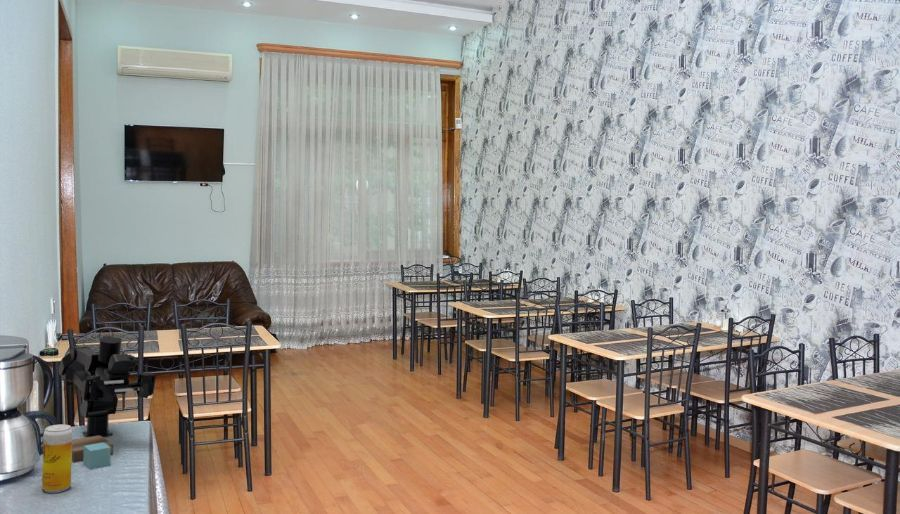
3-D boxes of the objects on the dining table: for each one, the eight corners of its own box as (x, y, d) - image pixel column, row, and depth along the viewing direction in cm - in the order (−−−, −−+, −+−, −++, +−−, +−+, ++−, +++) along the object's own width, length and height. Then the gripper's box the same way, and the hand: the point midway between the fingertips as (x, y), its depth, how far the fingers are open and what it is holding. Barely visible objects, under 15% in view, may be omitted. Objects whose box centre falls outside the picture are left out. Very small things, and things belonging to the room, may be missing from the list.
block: (83, 464, 188) (83, 445, 187) (102, 460, 191) (103, 442, 191) (90, 469, 184) (90, 450, 184) (110, 465, 188) (110, 447, 187)
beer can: (38, 488, 170) (39, 426, 170) (65, 482, 175) (67, 422, 174) (47, 495, 166) (48, 433, 166) (74, 489, 171) (76, 428, 170)
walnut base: (61, 452, 195) (61, 441, 195) (99, 445, 202) (99, 435, 202) (73, 462, 188) (74, 451, 188) (112, 455, 195) (113, 444, 195)
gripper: (79, 351, 195) (97, 372, 184) (148, 348, 208) (168, 367, 197) (74, 389, 197) (91, 412, 186) (142, 384, 210) (162, 405, 199)
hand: (129, 398), depth 192 cm, fingers open, 9 cm apart
